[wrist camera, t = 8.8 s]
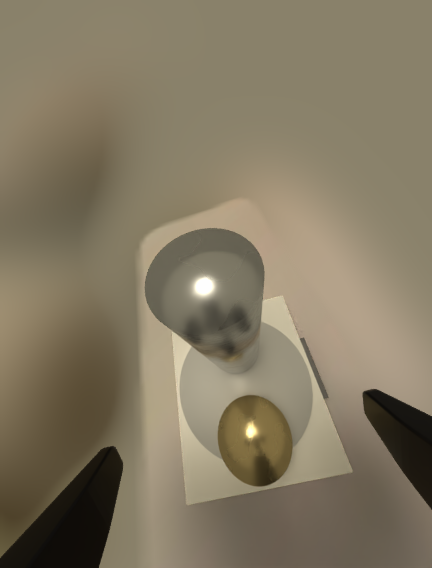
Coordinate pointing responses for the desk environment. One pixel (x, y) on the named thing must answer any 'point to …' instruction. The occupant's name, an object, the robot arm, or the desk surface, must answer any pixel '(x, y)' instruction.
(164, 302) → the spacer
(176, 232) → the desk surface
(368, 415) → the robot arm
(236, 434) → the brass weight
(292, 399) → the scale
